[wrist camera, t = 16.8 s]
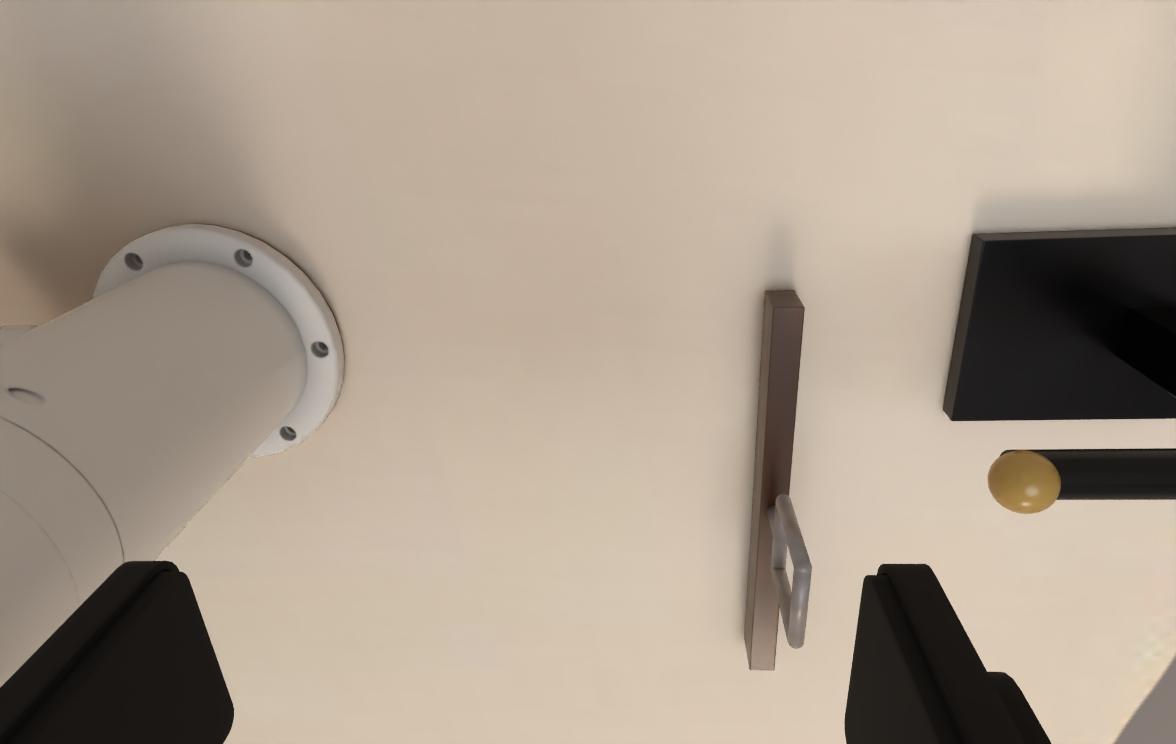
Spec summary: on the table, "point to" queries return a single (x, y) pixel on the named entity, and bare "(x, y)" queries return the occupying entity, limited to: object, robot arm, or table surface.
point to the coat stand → (1069, 356)
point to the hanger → (776, 491)
